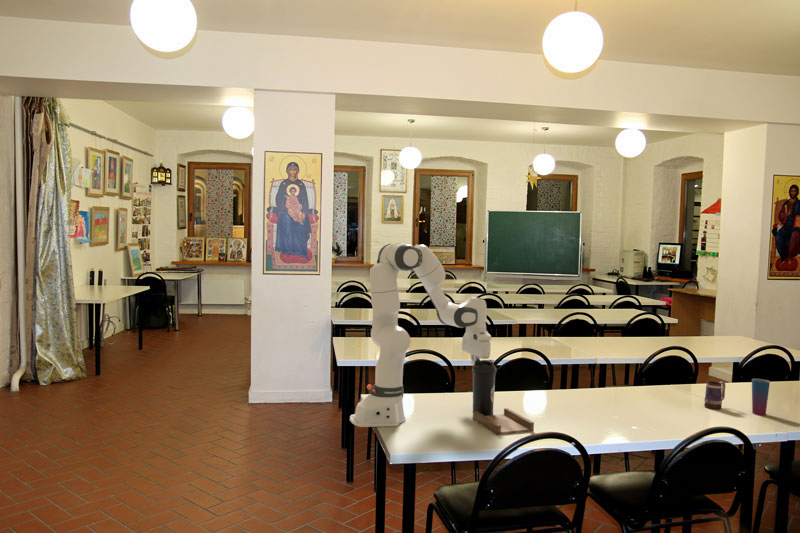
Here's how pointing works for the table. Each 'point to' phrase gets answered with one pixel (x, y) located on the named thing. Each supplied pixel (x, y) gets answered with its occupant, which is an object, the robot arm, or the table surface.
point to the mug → (714, 394)
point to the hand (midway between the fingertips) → (474, 364)
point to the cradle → (504, 422)
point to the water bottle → (483, 386)
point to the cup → (759, 396)
